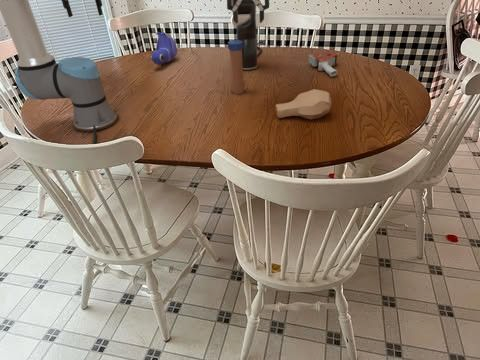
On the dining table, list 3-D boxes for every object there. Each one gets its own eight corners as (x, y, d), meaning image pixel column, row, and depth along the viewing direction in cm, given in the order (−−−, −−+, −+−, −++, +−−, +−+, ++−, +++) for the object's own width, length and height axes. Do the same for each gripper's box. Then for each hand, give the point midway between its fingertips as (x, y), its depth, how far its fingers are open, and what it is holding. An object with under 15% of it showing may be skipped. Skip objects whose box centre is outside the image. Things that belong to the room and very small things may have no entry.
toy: (165, 64, 197) (145, 70, 175) (161, 31, 190) (139, 33, 168) (182, 63, 195) (163, 69, 172) (178, 30, 188) (158, 32, 166)
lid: (243, 49, 138) (243, 43, 136) (228, 51, 137) (228, 44, 136) (242, 45, 142) (241, 39, 141) (227, 46, 142) (227, 40, 140)
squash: (335, 120, 125) (335, 98, 118) (278, 130, 127) (276, 109, 120) (328, 102, 132) (328, 81, 126) (275, 112, 134) (272, 92, 128)
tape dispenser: (333, 81, 157) (348, 64, 170) (335, 70, 154) (350, 54, 166) (297, 74, 164) (314, 58, 177) (297, 63, 161) (315, 47, 174)
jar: (244, 93, 148) (241, 44, 137) (233, 94, 148) (229, 45, 137) (243, 89, 152) (240, 41, 141) (232, 90, 152) (228, 42, 140)
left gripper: (102, -44, 147) (116, 12, 160) (44, -40, 148) (61, 15, 160) (96, -42, 141) (111, 15, 153) (35, -38, 142) (54, 19, 154)
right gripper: (270, -34, 116) (270, 19, 126) (227, -32, 118) (230, 20, 128) (267, -31, 110) (268, 25, 120) (222, -29, 112) (226, 25, 122)
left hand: (85, 15), depth 157 cm, fingers open, 13 cm apart
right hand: (248, 22), depth 124 cm, fingers open, 8 cm apart
